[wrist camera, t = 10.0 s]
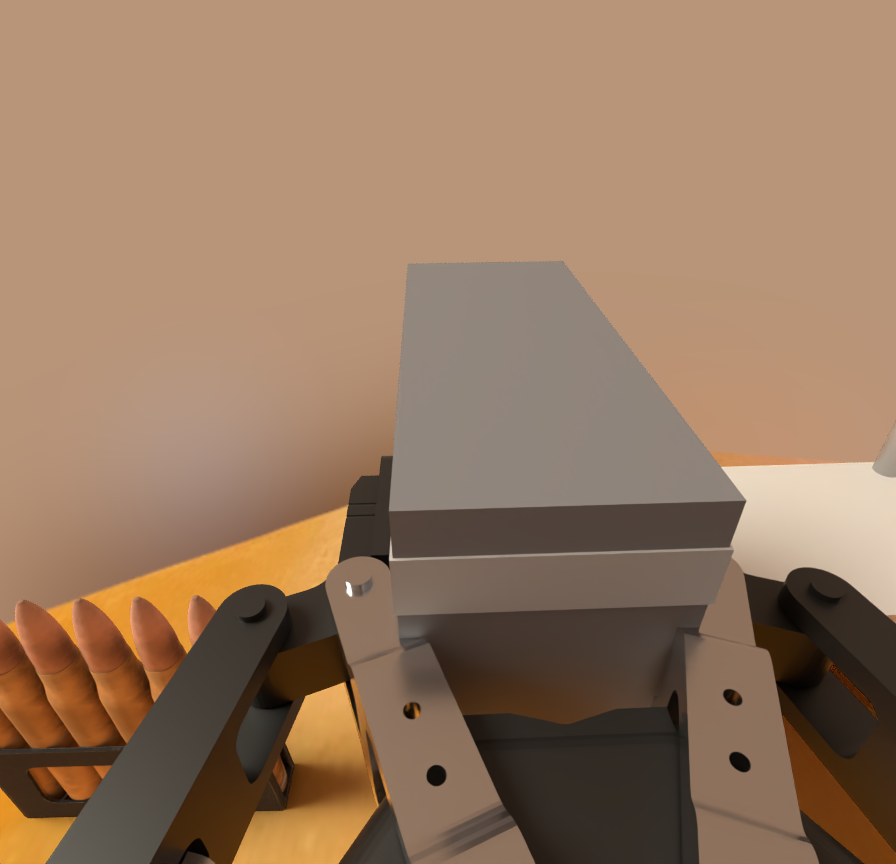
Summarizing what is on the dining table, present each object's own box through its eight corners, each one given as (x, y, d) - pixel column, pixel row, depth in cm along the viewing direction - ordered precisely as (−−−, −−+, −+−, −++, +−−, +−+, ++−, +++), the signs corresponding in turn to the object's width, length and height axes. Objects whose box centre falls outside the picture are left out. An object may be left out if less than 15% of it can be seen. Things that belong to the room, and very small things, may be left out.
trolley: (827, 538, 35) (988, 218, 25) (995, 731, 25) (1395, 325, 14) (517, 549, 35) (544, 227, 24) (558, 751, 25) (635, 344, 14)
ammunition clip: (23, 818, 23) (-155, 630, 16) (49, 770, 24) (-103, 581, 18) (285, 810, 23) (215, 621, 16) (294, 763, 24) (234, 573, 18)
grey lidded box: (538, 500, 23) (564, 260, 18) (629, 829, 13) (752, 502, 8) (417, 503, 23) (406, 263, 18) (413, 839, 13) (385, 513, 8)
